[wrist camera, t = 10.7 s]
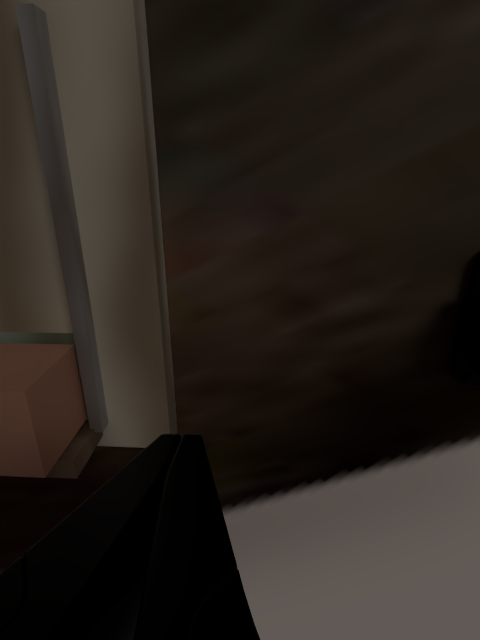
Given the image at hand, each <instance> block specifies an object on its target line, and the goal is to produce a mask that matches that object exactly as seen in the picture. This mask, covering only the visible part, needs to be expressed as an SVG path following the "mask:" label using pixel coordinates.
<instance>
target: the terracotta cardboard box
mask: <svg viewBox="0 0 480 640" xmlns="http://www.w3.org/2000/svg"><path fill="white" fill-rule="evenodd" d="M86 419H87V412H86V407H85V401H84V395H83V390H82V384H81V378H80V373H79V367H78V361H77V356H76V350H75V345H70V344H26V343H0V476H16V477H39V478H46V476H47V475H48V473H49V472H50V470H51V469H52V468H53V466H54V465H55V463H56V462H57V460H58V459H59V458H60V456H61V455H62V453H63V452H64V450H65V449H66V448H67V446H68V445H69V443H70V442H71V440H72V439H73V438H74V436H75V435H76V433H77V432H78V430H79V429H80V428H81V426H82V425H83V423H84V422H85V420H86Z"/></svg>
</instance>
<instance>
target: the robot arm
mask: <svg viewBox="0 0 480 640" xmlns="http://www.w3.org/2000/svg"><path fill="white" fill-rule="evenodd" d="M453 348H454V349H455V354H454V358H453V363H452V367H451V376H452V377H453V378H454V380H455V381H456V382H458V383H459V384H473V385H480V252H479V254H478V255H477V257H476V259H475V264H474V268H473V273H472V277H471V282H470V286H469V291H468V294H467V295H466V296H465V297H464V298H463V301H462V306H461V311H460V315H459V320H458V324H457V329H456V333H455V338H454V342H453ZM465 370H467V372H466V373H465V374H464V375H461V376H460V373H461V372H462V371H465ZM0 640H260V638H259V635H258V633H257V630H256V627H255V625H254V622H253V618H252V615H251V612H250V609H249V606H248V602H247V599H246V596H245V592H244V589H243V585H242V582H241V578H240V574H239V571H238V569H237V564H236V560H235V557H234V553H233V550H232V546H231V542H230V538H229V535H228V531H227V527H226V523H225V520H224V516H223V512H222V509H221V505H220V501H219V498H218V494H217V490H216V486H215V483H214V479H213V475H212V472H211V468H210V464H209V461H208V457H207V453H206V450H205V446H204V442H203V439H202V437H201V436H200V435H183V436H182V437H181V436H180V435H179V434H162V435H160V436H159V437H158V438H157V439H155V440H154V441H153V442H152V443H151V444H150V445H148V446H147V447H146V448H145V449H144V450H143V451H142V452H140V453H139V454H138V455H137V456H136V457H135V458H133V459H132V460H131V461H130V462H129V463H128V464H127V465H125V466H124V467H123V468H122V469H121V470H120V471H118V472H117V473H116V474H115V475H114V476H113V477H112V478H110V479H109V480H108V481H107V482H106V483H105V484H103V485H102V486H101V487H100V488H99V489H98V490H97V491H95V492H94V493H93V494H92V495H91V496H90V497H89V498H87V499H86V500H85V501H84V502H83V503H82V504H80V505H79V506H78V507H77V508H76V509H75V510H74V511H72V512H71V513H70V514H69V515H68V516H67V517H65V518H64V519H63V520H62V521H61V522H60V523H59V524H57V525H56V526H55V527H54V528H53V529H52V530H50V531H49V532H48V533H47V534H46V535H45V536H44V537H42V538H41V539H40V540H39V541H38V542H37V543H35V544H34V545H33V546H32V547H31V548H30V549H29V550H27V551H26V552H25V553H24V558H23V557H19V558H18V559H17V560H16V561H14V562H13V563H12V564H11V565H10V566H9V567H8V568H6V569H5V570H4V571H3V572H2V573H1V574H0Z"/></svg>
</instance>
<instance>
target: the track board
mask: <svg viewBox="0 0 480 640" xmlns="http://www.w3.org/2000/svg"><path fill="white" fill-rule="evenodd" d="M0 343H26V344H70V345H75V350H76V356H77V361H78V367H79V373H80V378H81V384H82V390H83V395H84V401H85V407H86V412H87V419H86V420H85V422H84V423H83V425H82V426H81V428H80V429H79V430H78V432H77V433H76V435H75V436H74V438H73V439H72V440H71V442H70V443H69V445H68V446H67V448H66V449H65V450H64V452H63V453H62V455H61V456H60V458H59V459H58V460H57V462H56V463H55V465H54V466H53V468H52V469H51V470H50V472H49V473H48V475H47V476H46V477H49V478H72V479H77V478H78V476H79V475H80V473H81V471H82V470H83V468H84V466H85V464H86V463H87V461H88V459H89V458H90V456H91V454H92V453H93V451H94V449H95V448H96V446H114V447H140V448H146V447H147V446H148V445H150V444H151V443H152V442H153V441H154V440H155V439H157V438H158V437H159V436H160V435H162V434H176V433H177V419H176V406H175V393H174V380H173V367H172V354H171V341H170V328H169V314H168V301H167V288H166V275H165V262H164V249H163V236H162V223H161V210H160V197H159V184H158V170H157V157H156V144H155V131H154V118H153V105H152V92H151V79H150V66H149V53H148V40H147V26H146V13H145V0H0Z"/></svg>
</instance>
